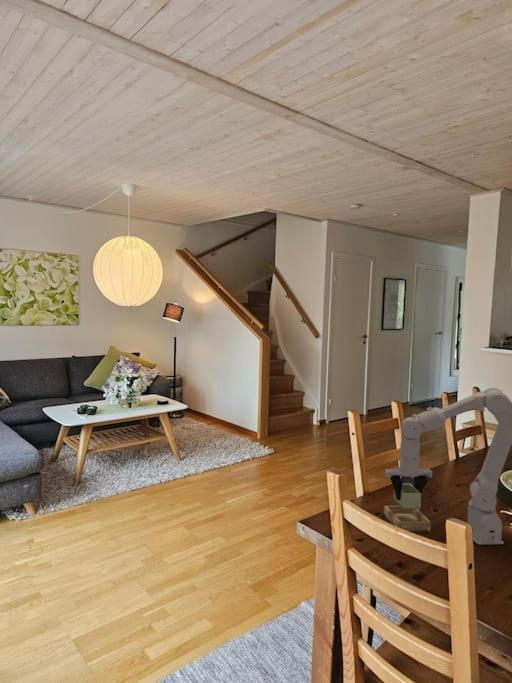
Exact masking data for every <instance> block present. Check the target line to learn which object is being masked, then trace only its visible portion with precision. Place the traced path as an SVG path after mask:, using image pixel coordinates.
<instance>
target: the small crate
mask: <svg viewBox="0 0 512 683" xmlns="http://www.w3.org/2000/svg"><path fill="white" fill-rule="evenodd" d="M393 500H394V501H395V502H396V503H397V504H398V505H400V507H401V508H402V509H403V510H419V511H420V510H421V507H422V506H421V505H422V493H420V492H419V491H418V490H417V489H416V488H415V487H414V486H413V485H412V484H402V488H401V499H400V500H397V499H396V496H395V491H394V490H393Z"/></svg>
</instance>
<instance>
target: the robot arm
mask: <svg viewBox="0 0 512 683" xmlns="http://www.w3.org/2000/svg"><path fill="white" fill-rule="evenodd" d="M485 409H486V410H487V411H489V413H491V415H493V417H494V418H495V420H496V421H497V423H498V424H497V426H496V428H495V429H496V430H495V432H494V435H493V437H492V440H491V442H490V445H489V448H488V451H487V454H486V456H485V459H484V461H483V464H482V468H481V470H480V472H479V473H478V474H477V476H476V478H475V479H474V480H473V481H472V482H471V483H470V484H469V490H468V491H469V493H470V495H471V499H470V500H469V501H468V509H467V522H468V523H470V524H471V525H472V528H473V540H472V541H473V542H475V543H476V544H477V545H503V544H504V541H503V540H502V534H503V533H502V530H503V522H502V520H501V518H500V517H499V516H498V514H497V511H496V509H497V508H496V506H497V502H498V501H497V493H498V486H499V479H500V476H501V473H502V471H503V468H504V466H505V463H506V461H507V459H508V458H507V457H508V455H509V453H510V452H509V451H511V447H512V401H511V399H509V397H508V396H507V395H506V394H505V393H503V391H502V390H500V389H499V388H495V387H490V388H487V389H485V390H481V391H478V392H474V394H471V395H469V396H467V397H465V398H463V399H460V400H458V401H456V402H454V403H452V404H449V405H447V406H445V407H444V408H439V407H436V406H435V407H433V408H432V406H429V407H428V408H426V410H425V411H423V412H420V413H418V414H416V413H414V414H412V417H411V416H409V417H406V418H404V419H403V421H402V422H401V425H400V427H401V429H400V430H401V437H400V438H401V440H400V445H399V446H400V449H399V451H400V452H399V467H396V468H389V469H388V468H385V469H384V470H385V471H384V476H385V477H386V478H388V479H390V480H391V483H392V486H393V492H394V491H395V496H396V499H397V500H400V499H401V488H402V484H403V481H402V480H401V477H414V487H415V488H416V489H417V490H418V491H419V492H420V493H421V494H422V492H423V490H424V488H425V487H426V485H427V484H428V482H429V479H428V478H433V470H431V469H430V468H429V469H428V468H419V467H420V453H421V452H420V449H421V442H420V436H421V434H422V433H427V432H430V431H432V430H434V429H437V428H440V427H441V426H445V424H446V421H447V420H448V419H450V418H453V417H455V416H459V415H461V414H464V413H467V412H470V411H474V410H475V411H480V412H486V410H485Z"/></svg>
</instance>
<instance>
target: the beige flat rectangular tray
mask: <svg viewBox="0 0 512 683" xmlns="http://www.w3.org/2000/svg"><path fill="white" fill-rule="evenodd" d="M383 516H384V517H385V518H386V519H387V521H388V522H390V524H391V525H392V524H394V525H396V526H399V527H401V528H403V529H406V530H408V531H411V532H410V533H430V532H431V529H432V521H431V520H429V519H428V518H427V517H426V515H424V513H422V512H421V511H420V510H403V509H402V508H401V507H400V505H399V504H398V505H397V504H396V505H383Z"/></svg>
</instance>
